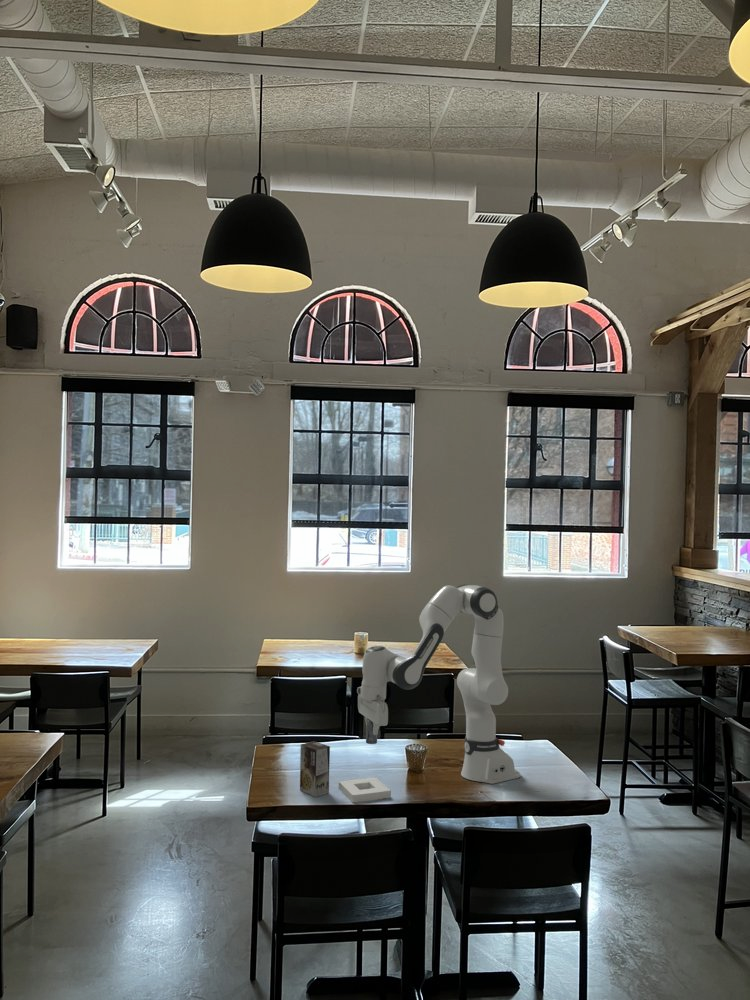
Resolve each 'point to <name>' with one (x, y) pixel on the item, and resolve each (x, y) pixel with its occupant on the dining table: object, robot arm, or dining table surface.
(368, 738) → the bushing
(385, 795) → the plate
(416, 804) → the dining table surface
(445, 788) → the dining table surface
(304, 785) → the coffee box
